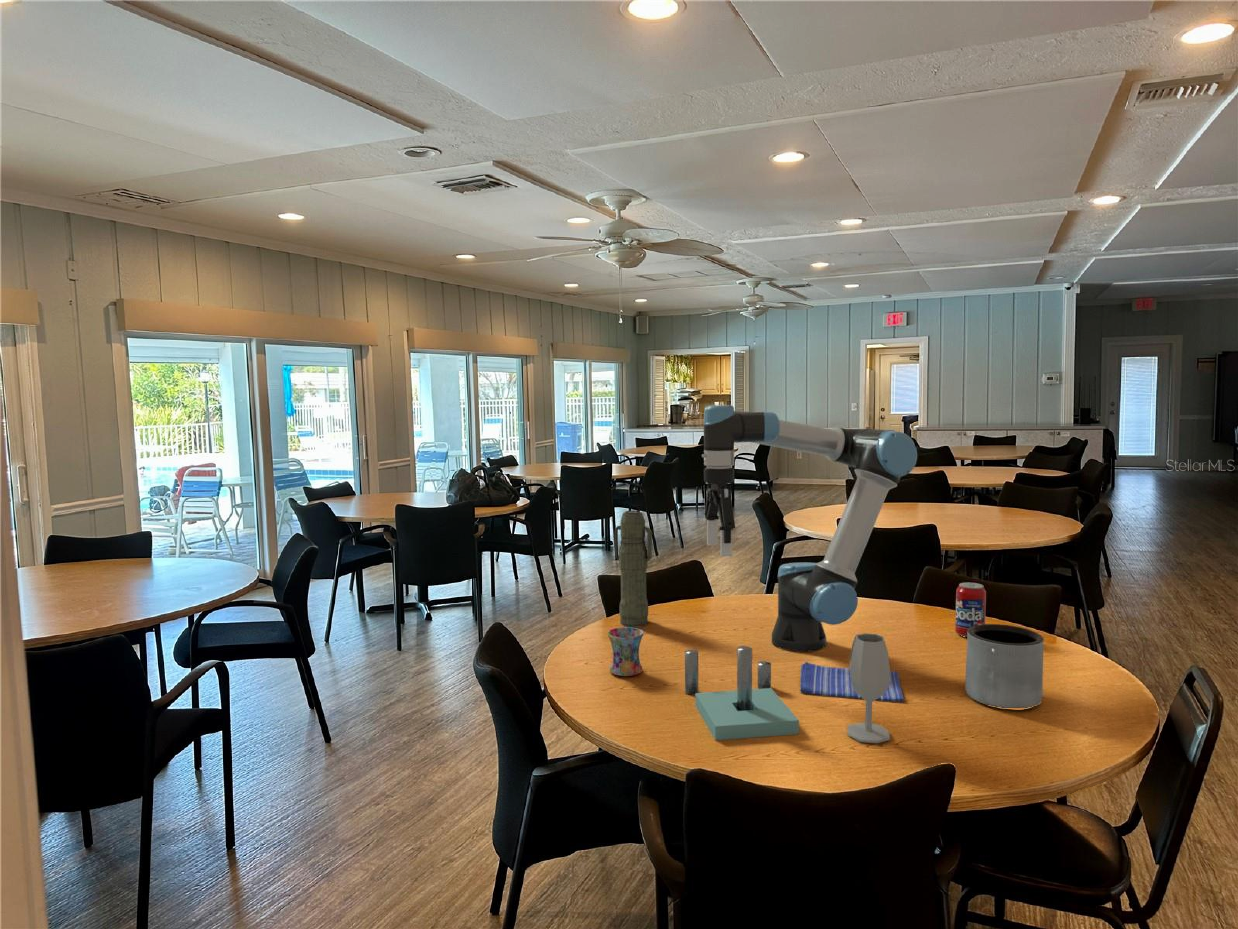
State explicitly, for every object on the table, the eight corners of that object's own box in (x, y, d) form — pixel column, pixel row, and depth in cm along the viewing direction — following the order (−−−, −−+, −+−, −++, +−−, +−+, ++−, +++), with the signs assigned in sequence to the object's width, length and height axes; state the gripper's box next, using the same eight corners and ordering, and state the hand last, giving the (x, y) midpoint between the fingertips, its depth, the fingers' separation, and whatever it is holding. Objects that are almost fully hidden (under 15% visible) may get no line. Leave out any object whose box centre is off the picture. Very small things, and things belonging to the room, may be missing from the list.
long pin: (749, 715, 174) (749, 645, 173) (753, 721, 171) (754, 650, 169) (735, 716, 174) (735, 646, 172) (739, 723, 171) (739, 651, 169)
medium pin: (696, 689, 190) (696, 649, 189) (699, 694, 187) (699, 653, 186) (683, 690, 189) (683, 650, 188) (686, 695, 186) (686, 654, 185)
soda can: (986, 633, 229) (988, 583, 227) (982, 641, 222) (984, 589, 221) (957, 629, 233) (959, 580, 231) (952, 637, 226) (954, 586, 225)
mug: (636, 681, 196) (635, 639, 195) (602, 676, 199) (601, 635, 198) (652, 665, 207) (652, 626, 206) (620, 661, 210) (619, 622, 209)
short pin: (768, 684, 192) (768, 661, 192) (772, 689, 189) (772, 665, 188) (755, 685, 192) (755, 661, 191) (759, 690, 189) (759, 666, 188)
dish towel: (801, 670, 203) (801, 660, 202) (898, 678, 196) (898, 667, 196) (798, 696, 186) (798, 684, 186) (904, 705, 180) (904, 693, 180)
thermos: (650, 627, 239) (649, 514, 236) (612, 625, 242) (610, 513, 238) (655, 619, 248) (654, 509, 244) (618, 617, 250) (617, 509, 247)
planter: (1011, 718, 171) (1013, 649, 169) (949, 694, 185) (951, 629, 183) (1057, 704, 178) (1060, 637, 177) (995, 681, 192) (997, 619, 191)
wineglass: (840, 727, 167) (841, 632, 165) (879, 725, 168) (881, 630, 166) (856, 746, 159) (857, 645, 157) (897, 743, 160) (899, 643, 157)
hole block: (770, 700, 182) (771, 688, 182) (798, 734, 165) (798, 720, 164) (695, 705, 180) (695, 693, 180) (715, 740, 162) (715, 726, 162)
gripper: (692, 462, 208) (693, 541, 210) (717, 472, 183) (717, 561, 185) (720, 461, 209) (720, 540, 211) (748, 471, 184) (748, 560, 186)
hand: (719, 550), depth 198 cm, fingers open, 13 cm apart
